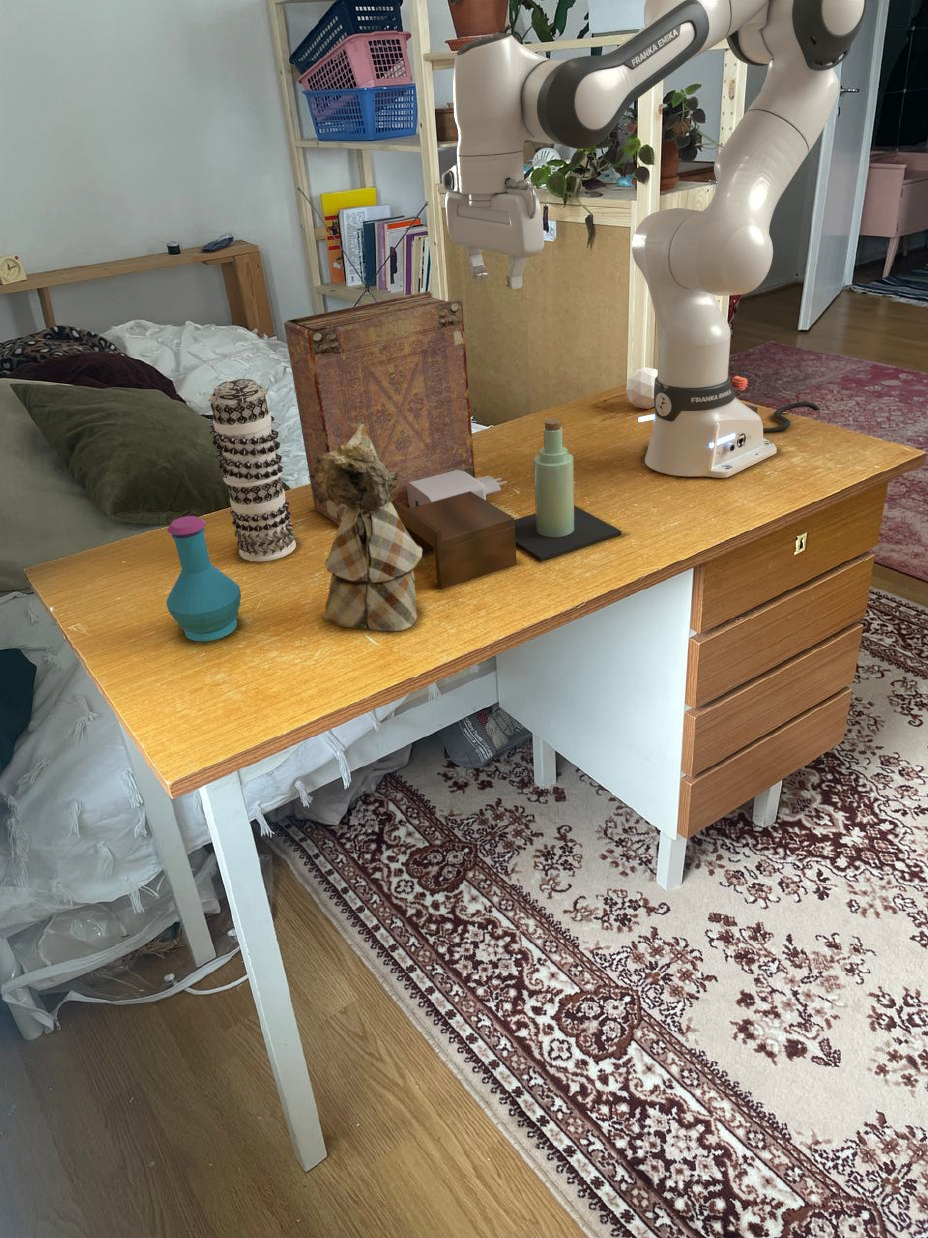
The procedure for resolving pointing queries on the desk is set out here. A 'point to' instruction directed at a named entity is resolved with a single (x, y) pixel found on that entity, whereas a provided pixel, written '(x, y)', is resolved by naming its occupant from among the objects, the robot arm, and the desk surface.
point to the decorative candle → (251, 470)
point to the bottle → (554, 484)
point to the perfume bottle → (200, 586)
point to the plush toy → (366, 541)
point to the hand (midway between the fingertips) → (496, 283)
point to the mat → (549, 547)
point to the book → (385, 386)
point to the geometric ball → (642, 387)
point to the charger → (450, 487)
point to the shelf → (462, 536)
